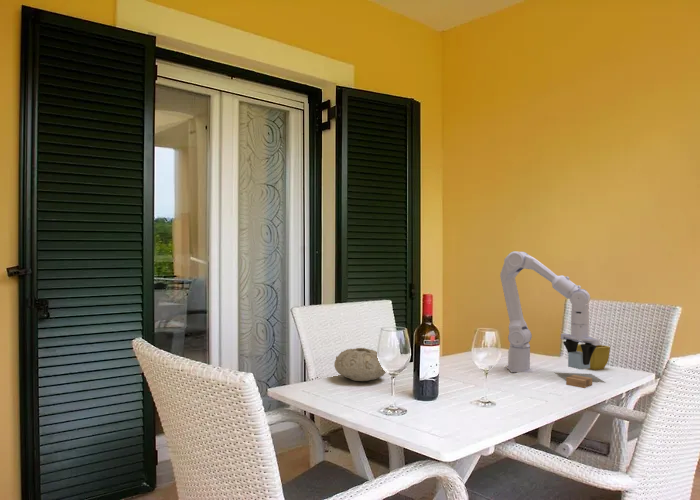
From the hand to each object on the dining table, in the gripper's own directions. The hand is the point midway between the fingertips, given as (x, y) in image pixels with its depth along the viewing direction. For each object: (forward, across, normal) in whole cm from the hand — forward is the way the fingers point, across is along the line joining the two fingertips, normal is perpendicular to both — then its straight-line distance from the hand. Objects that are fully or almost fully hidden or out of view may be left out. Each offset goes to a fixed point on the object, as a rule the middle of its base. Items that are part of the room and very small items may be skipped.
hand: (579, 363), depth 186 cm
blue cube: (+2, 0, 0) cm, 2 cm away
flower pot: (+6, -9, +18) cm, 21 cm away
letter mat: (+5, 0, 0) cm, 5 cm away
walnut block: (+6, +7, -9) cm, 13 cm away
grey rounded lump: (+6, -29, -71) cm, 77 cm away
